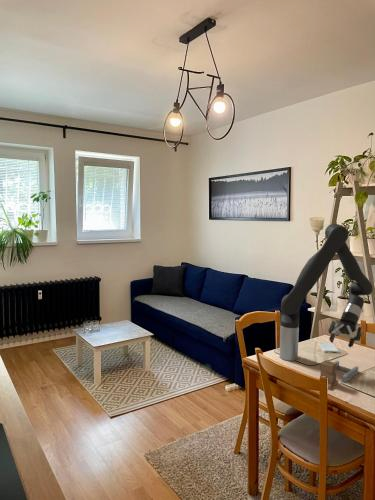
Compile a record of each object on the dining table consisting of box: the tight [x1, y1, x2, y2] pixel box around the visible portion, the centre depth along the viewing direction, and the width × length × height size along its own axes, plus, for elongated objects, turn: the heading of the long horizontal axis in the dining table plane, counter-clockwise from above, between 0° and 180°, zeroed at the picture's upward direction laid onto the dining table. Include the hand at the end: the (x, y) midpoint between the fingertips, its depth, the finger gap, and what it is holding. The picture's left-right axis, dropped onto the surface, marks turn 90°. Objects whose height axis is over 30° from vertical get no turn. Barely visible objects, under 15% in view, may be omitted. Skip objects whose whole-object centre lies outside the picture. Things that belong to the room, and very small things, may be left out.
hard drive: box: [318, 342, 340, 354], centre depth 206 cm, size 2×8×12 cm
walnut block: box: [320, 359, 339, 391], centre depth 162 cm, size 9×6×10 cm, turn 136°
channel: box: [334, 360, 359, 383], centre depth 174 cm, size 16×10×2 cm, turn 135°
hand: (340, 344), depth 171 cm, fingers open, 8 cm apart
